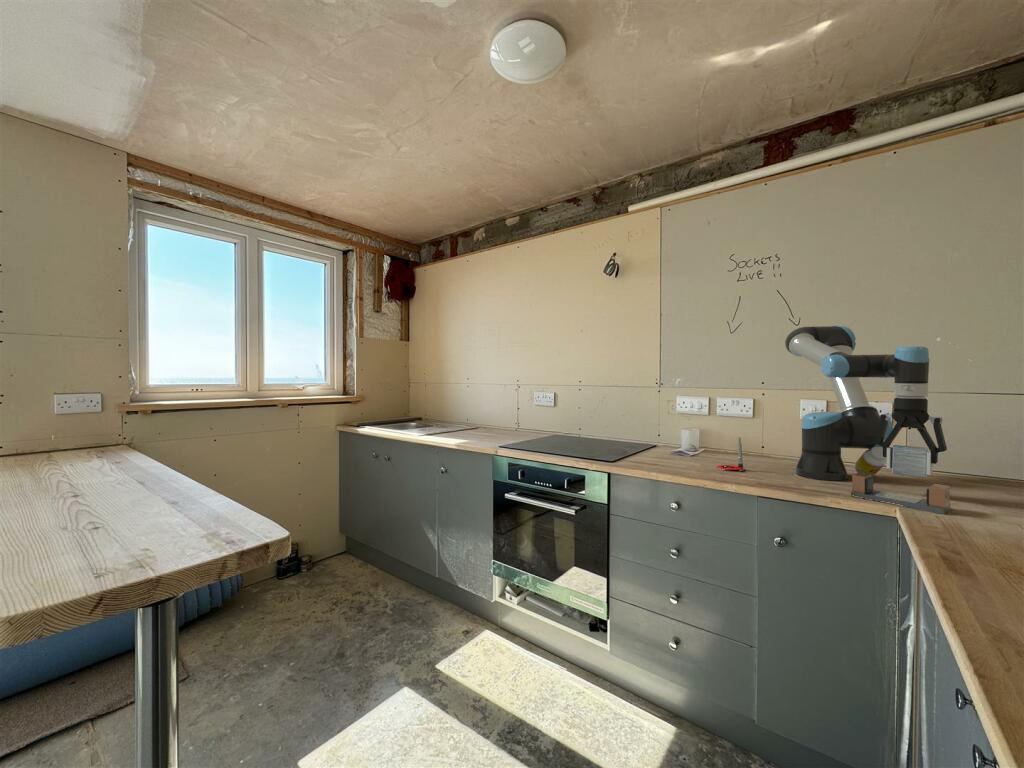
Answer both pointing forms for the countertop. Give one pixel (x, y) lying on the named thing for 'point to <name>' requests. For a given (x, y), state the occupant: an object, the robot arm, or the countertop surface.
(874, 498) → the rail
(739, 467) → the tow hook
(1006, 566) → the countertop surface
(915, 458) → the medicine box
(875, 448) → the supplement bottle
